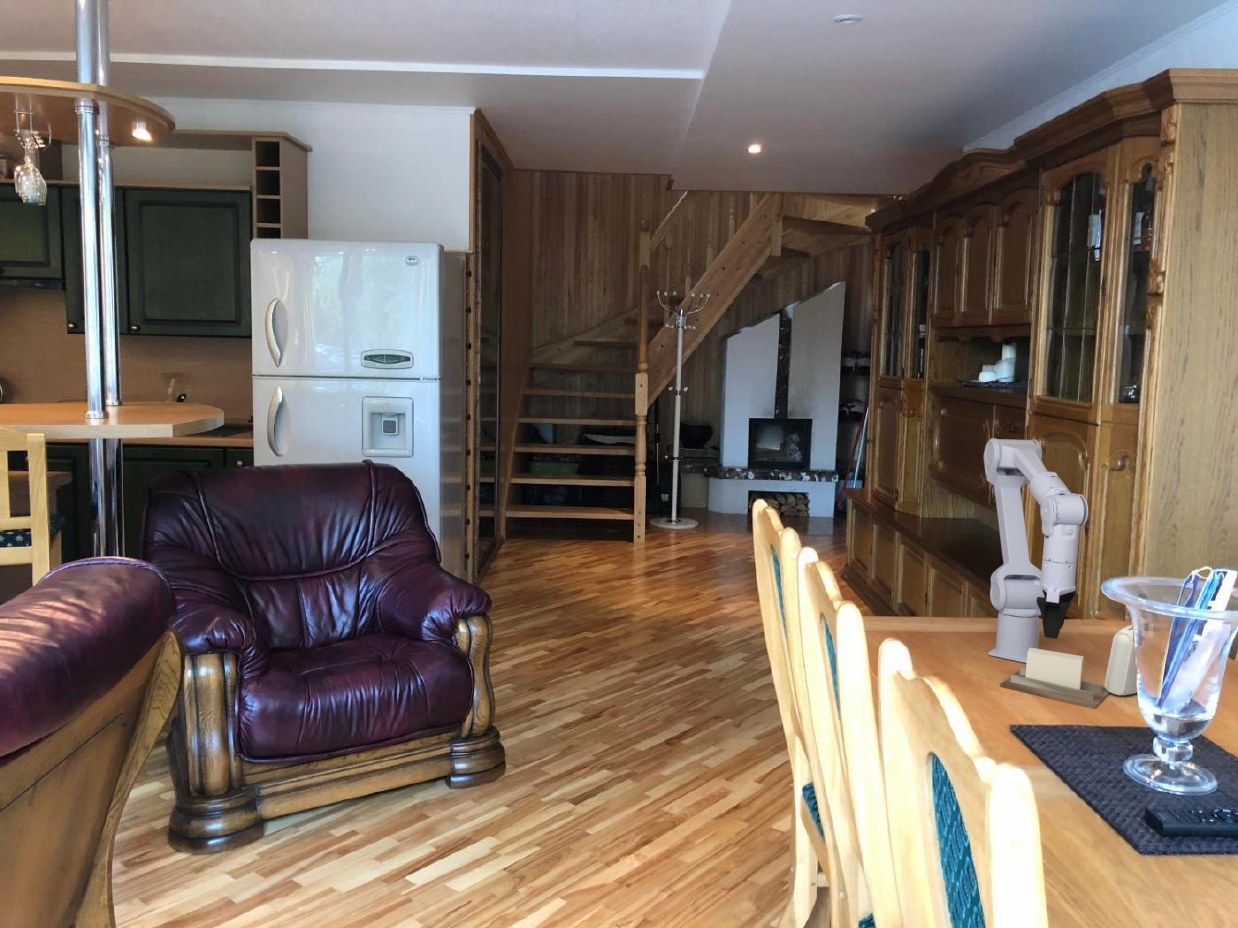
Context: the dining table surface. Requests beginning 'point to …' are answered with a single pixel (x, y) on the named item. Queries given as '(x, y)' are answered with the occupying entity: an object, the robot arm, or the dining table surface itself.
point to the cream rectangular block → (1055, 667)
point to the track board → (1058, 690)
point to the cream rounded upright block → (1121, 664)
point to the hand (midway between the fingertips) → (1053, 632)
